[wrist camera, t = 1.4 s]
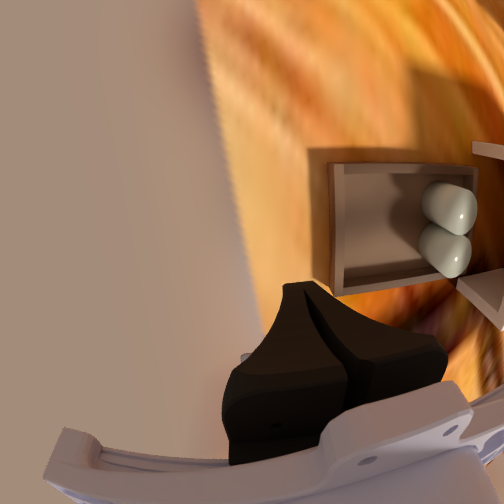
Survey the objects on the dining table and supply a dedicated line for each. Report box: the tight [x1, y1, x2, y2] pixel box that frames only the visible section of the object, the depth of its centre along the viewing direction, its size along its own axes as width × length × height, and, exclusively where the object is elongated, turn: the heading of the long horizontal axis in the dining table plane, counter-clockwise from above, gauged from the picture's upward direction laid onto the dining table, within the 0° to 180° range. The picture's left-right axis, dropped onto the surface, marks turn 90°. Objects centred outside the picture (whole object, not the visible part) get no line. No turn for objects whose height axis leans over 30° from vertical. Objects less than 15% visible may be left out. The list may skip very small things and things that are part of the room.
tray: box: [327, 162, 479, 297], centre depth 20 cm, size 10×14×2 cm
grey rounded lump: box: [421, 180, 478, 235], centre depth 18 cm, size 4×4×4 cm
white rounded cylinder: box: [418, 222, 472, 278], centre depth 20 cm, size 4×4×4 cm
